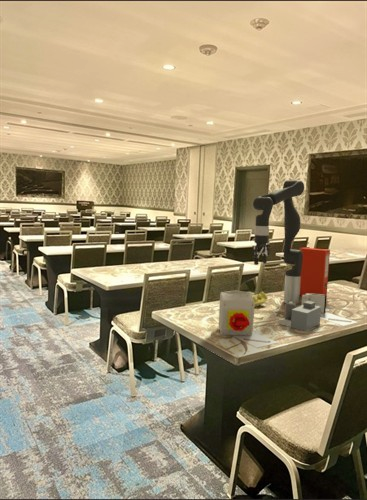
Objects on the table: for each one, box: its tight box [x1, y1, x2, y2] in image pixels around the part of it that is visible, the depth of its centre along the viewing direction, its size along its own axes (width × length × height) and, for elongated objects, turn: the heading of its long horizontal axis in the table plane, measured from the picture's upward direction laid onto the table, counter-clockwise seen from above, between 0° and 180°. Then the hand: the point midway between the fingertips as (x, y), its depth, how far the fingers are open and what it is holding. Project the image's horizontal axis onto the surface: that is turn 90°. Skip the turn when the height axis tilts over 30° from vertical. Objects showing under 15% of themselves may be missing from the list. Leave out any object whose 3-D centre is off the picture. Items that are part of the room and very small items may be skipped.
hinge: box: [301, 293, 328, 314], centre depth 208 cm, size 14×5×10 cm, turn 87°
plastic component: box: [252, 291, 269, 308], centre depth 220 cm, size 20×7×10 cm
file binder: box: [299, 247, 331, 297], centre depth 243 cm, size 8×17×32 cm, turn 48°
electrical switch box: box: [218, 289, 255, 336], centre depth 168 cm, size 15×15×20 cm
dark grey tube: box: [284, 302, 297, 320], centre depth 187 cm, size 5×5×11 cm
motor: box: [278, 301, 322, 332], centre depth 187 cm, size 20×15×11 cm
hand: (260, 263), depth 199 cm, fingers open, 8 cm apart
